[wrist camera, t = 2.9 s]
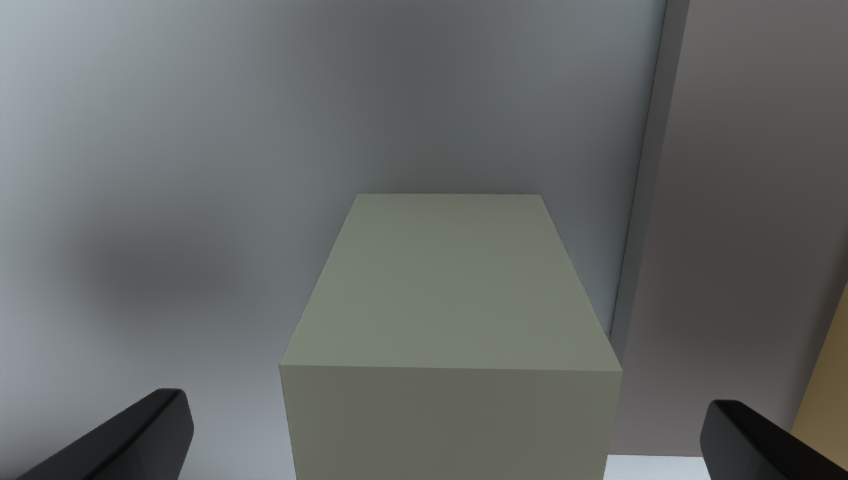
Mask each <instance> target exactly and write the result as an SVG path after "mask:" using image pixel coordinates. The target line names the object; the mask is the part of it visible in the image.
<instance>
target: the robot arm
mask: <svg viewBox="0 0 848 480" xmlns="http://www.w3.org/2000/svg"><path fill="white" fill-rule="evenodd" d="M193 432H194V425H193V420H192V416H191V412H190V408H189V404H188V400H187V396H186V394H185V392H184V391H183V390H181V389H173V388H162V389H157V390H155V391H154V392H152V393H151V394H149V395H147V396H146V397H144V398H143V399H141V400H139V401H138V402H136V403H135V404H133V405H131V406H130V407H128V408H127V409H125V410H124V411H122V412H120V413H119V414H117V415H116V416H114V417H112V418H111V419H109V420H108V421H106V422H105V423H103V424H101V425H100V426H98V427H97V428H95V429H93V430H92V431H90V432H89V433H87V434H86V435H84V436H82V437H81V438H79V439H78V440H76V441H74V442H73V443H71V444H70V445H68V446H67V447H65V448H63V449H62V450H60V451H59V452H57V453H55V454H54V455H52V456H51V457H49V458H48V459H46V460H44V461H43V462H41V463H40V464H38V465H36V466H35V467H33V468H32V469H30V470H29V471H27V472H25V473H24V474H22V475H21V476H19V477H17V478H16V479H14V480H178V477H179V474H180V471H181V469H182V466H183V463H184V460H185V457H186V455H187V452H188V449H189V446H190V443H191V441H192V437H193ZM700 448H701V452H702V455H703V458H704V461H705V464H706V466H707V469H708V472H709V475H710V478H711V480H848V471H846V470H845V469H843V468H842V467H840V466H839V465H837V464H836V463H834V462H833V461H831V460H829V459H828V458H826V457H825V456H823V455H822V454H820V453H819V452H817V451H816V450H814V449H813V448H811V447H810V446H808V445H807V444H805V443H803V442H802V441H800V440H799V439H797V438H796V437H794V436H793V435H791V434H790V433H788V432H787V431H785V430H784V429H782V428H781V427H779V426H777V425H776V424H774V423H773V422H771V421H770V420H768V419H767V418H765V417H764V416H762V415H761V414H759V413H758V412H756V411H754V410H753V409H751V408H750V407H748V406H747V405H745V404H744V403H742V402H740V401H738V400H726V399H716V400H712V401H711V402H710V403H709V406H708V408H707V412H706V415H705V419H704V423H703V426H702V430H701V433H700Z"/></svg>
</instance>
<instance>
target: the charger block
mask: <svg viewBox="0 0 848 480" xmlns="http://www.w3.org/2000/svg"><path fill="white" fill-rule="evenodd" d="M279 369H280V375H281V382H282V388H283V395H284V401H285V408H286V414H287V421H288V427H289V434H290V440H291V446H292V453H293V459H294V466H295V472H296V479H297V480H603V477H604V471H605V466H606V461H607V455H608V450H609V445H610V439H611V434H612V428H613V423H614V418H615V412H616V407H617V402H618V396H619V391H620V386H621V380H622V375H623V370H622V368H621V366H620V363H619V361H618V359H617V357H616V355H615V353H614V351H613V348H612V346H611V344H610V342H609V340H608V338H607V336H606V334H605V331H604V329H603V327H602V325H601V323H600V321H599V319H598V317H597V314H596V312H595V310H594V308H593V306H592V304H591V302H590V299H589V297H588V295H587V293H586V291H585V289H584V287H583V285H582V282H581V280H580V278H579V276H578V274H577V272H576V270H575V268H574V265H573V263H572V261H571V259H570V257H569V255H568V253H567V250H566V248H565V246H564V244H563V242H562V240H561V238H560V236H559V233H558V231H557V229H556V227H555V225H554V223H553V221H552V219H551V216H550V214H549V212H548V210H547V208H546V206H545V204H544V201H543V199H542V197H541V195H540V194H400V193H357V196H356V198H355V200H354V202H353V204H352V206H351V209H350V211H349V213H348V215H347V217H346V219H345V222H344V224H343V226H342V228H341V230H340V233H339V235H338V237H337V239H336V241H335V243H334V246H333V248H332V250H331V252H330V254H329V257H328V259H327V261H326V263H325V265H324V267H323V270H322V272H321V274H320V276H319V278H318V281H317V283H316V285H315V287H314V289H313V291H312V294H311V296H310V298H309V300H308V302H307V305H306V307H305V309H304V311H303V313H302V315H301V318H300V320H299V322H298V324H297V326H296V329H295V331H294V333H293V335H292V337H291V339H290V342H289V344H288V346H287V348H286V350H285V353H284V355H283V357H282V359H281V361H280V363H279Z"/></svg>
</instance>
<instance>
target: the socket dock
mask: <svg viewBox="0 0 848 480" xmlns="http://www.w3.org/2000/svg"><path fill="white" fill-rule="evenodd" d="M609 342H610V344H611V346H612V348H613V351H614V353H615V355H616V357H617V359H618V361H619V363H620V366H621V368H622V370H623V375H622V380H621V386H620V391H619V396H618V402H617V407H616V412H615V418H614V423H613V428H612V434H611V439H610V445H609V450H608V454H610V455H648V456H686V457H703V455H702V452H701V448H700V433H701V430H702V426H703V423H704V419H705V415H706V412H707V408H708V406H709V403H710V402H711V401H712V400H716V399H726V400H738V401H740V402H742V403H744V404H745V405H747V406H748V407H750V408H751V409H753V410H754V411H756V412H758V413H759V414H761V415H762V416H764V417H765V418H767V419H768V420H770V421H771V422H773V423H774V424H776V425H777V426H779V427H781V428H782V429H784V430H785V431H787V432H788V433H790V434H791V435H793V436H794V437H796V438H797V439H799V440H800V441H802V442H803V443H805V444H807V445H808V446H810V447H811V448H813V449H814V450H816V451H817V452H819V453H820V454H822V455H823V456H825V457H826V458H828V459H829V460H831V461H833V462H834V463H836V464H837V465H839V466H840V467H842V468H843V469H845V470H846V471H848V0H667V6H666V12H665V18H664V23H663V29H662V35H661V41H660V47H659V53H658V59H657V65H656V70H655V76H654V82H653V88H652V94H651V100H650V106H649V112H648V118H647V123H646V129H645V135H644V141H643V147H642V153H641V159H640V165H639V171H638V176H637V182H636V188H635V194H634V200H633V206H632V212H631V218H630V224H629V229H628V235H627V241H626V247H625V253H624V259H623V265H622V271H621V276H620V282H619V288H618V294H617V300H616V306H615V312H614V318H613V324H612V329H611V335H610V341H609Z"/></svg>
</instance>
